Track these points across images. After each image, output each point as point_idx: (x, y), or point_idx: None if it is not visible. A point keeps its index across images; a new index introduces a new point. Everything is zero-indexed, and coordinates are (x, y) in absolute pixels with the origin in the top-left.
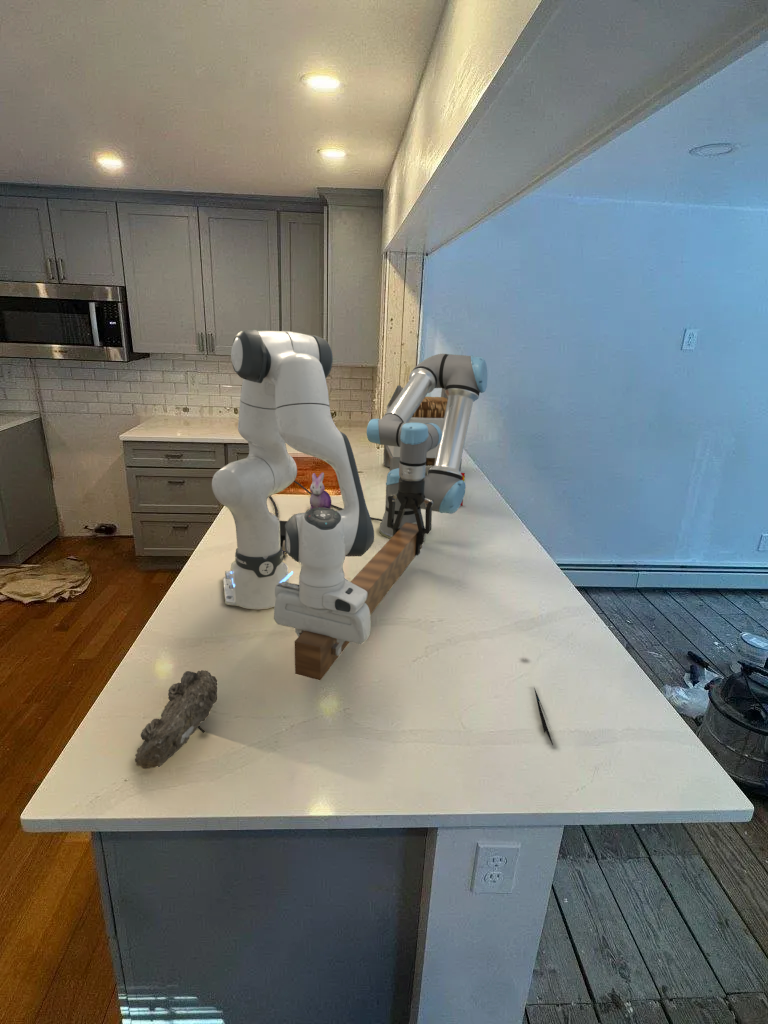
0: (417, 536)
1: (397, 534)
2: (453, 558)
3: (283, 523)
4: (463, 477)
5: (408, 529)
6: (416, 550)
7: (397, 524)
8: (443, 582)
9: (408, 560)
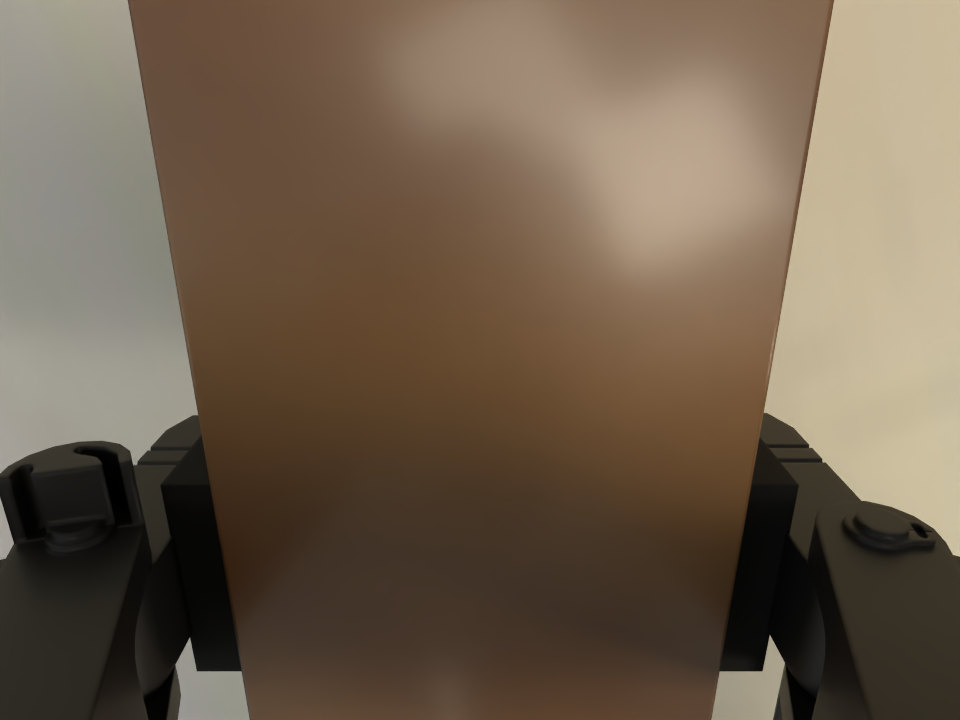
0: None
1: (711, 179)
2: (179, 674)
3: None
4: None
5: (502, 641)
6: None
7: (874, 639)
8: (29, 178)
9: None
